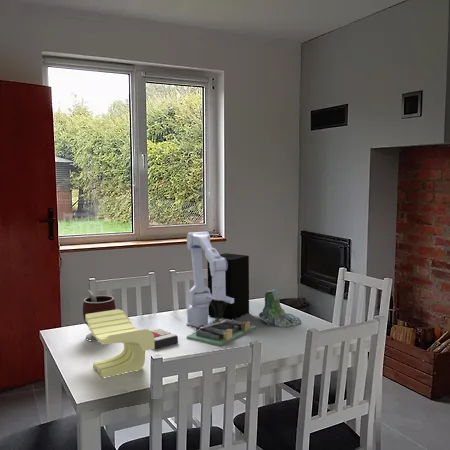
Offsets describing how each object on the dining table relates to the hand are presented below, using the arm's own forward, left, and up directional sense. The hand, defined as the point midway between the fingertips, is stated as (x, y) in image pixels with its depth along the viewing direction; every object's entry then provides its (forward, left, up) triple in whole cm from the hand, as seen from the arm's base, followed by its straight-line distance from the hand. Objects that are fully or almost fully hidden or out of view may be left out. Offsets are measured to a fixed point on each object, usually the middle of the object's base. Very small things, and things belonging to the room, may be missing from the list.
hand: (219, 317), depth 209 cm
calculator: (-20, -17, -10) cm, 28 cm away
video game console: (-18, +33, -10) cm, 39 cm away
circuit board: (-4, +7, -10) cm, 12 cm away
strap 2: (-3, +14, -6) cm, 16 cm away
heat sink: (-3, +7, -8) cm, 11 cm away
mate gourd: (-47, -26, -10) cm, 54 cm away
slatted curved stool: (-13, -46, -10) cm, 48 cm away
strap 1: (-4, 0, -4) cm, 5 cm away
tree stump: (+9, +37, -10) cm, 39 cm away
